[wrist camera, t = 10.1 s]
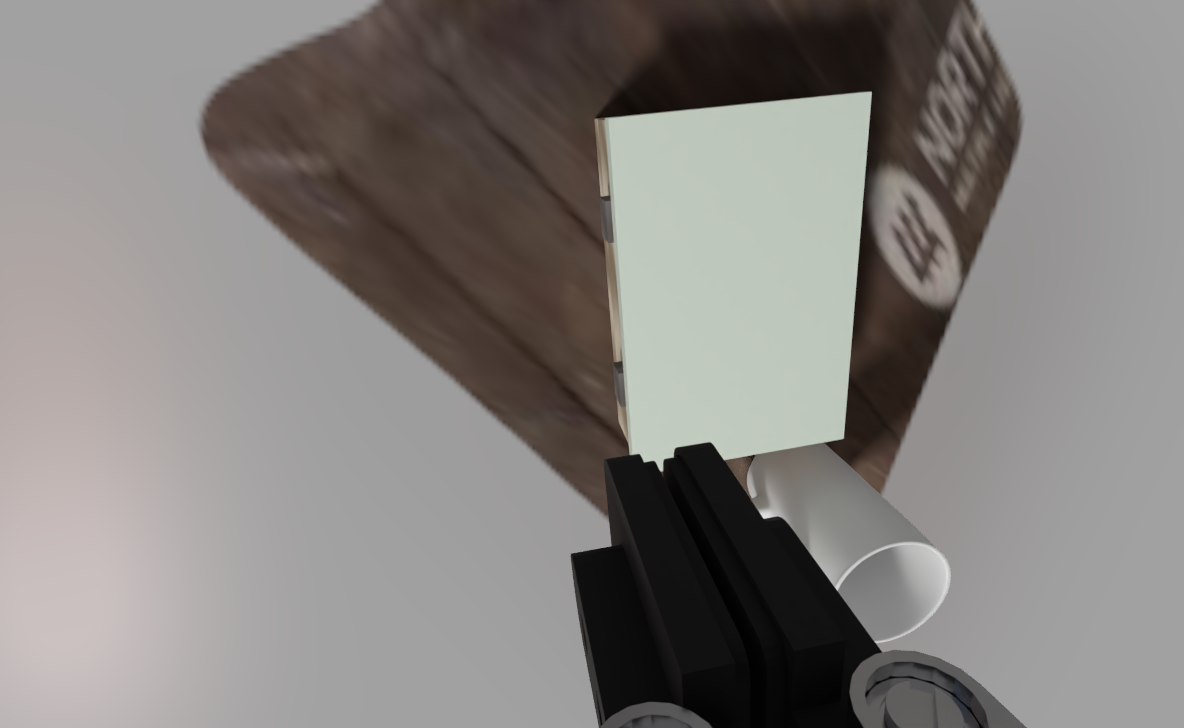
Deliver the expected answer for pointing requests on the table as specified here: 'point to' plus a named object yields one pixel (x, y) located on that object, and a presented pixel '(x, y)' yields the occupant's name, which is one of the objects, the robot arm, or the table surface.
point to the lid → (737, 271)
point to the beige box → (611, 269)
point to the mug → (853, 537)
